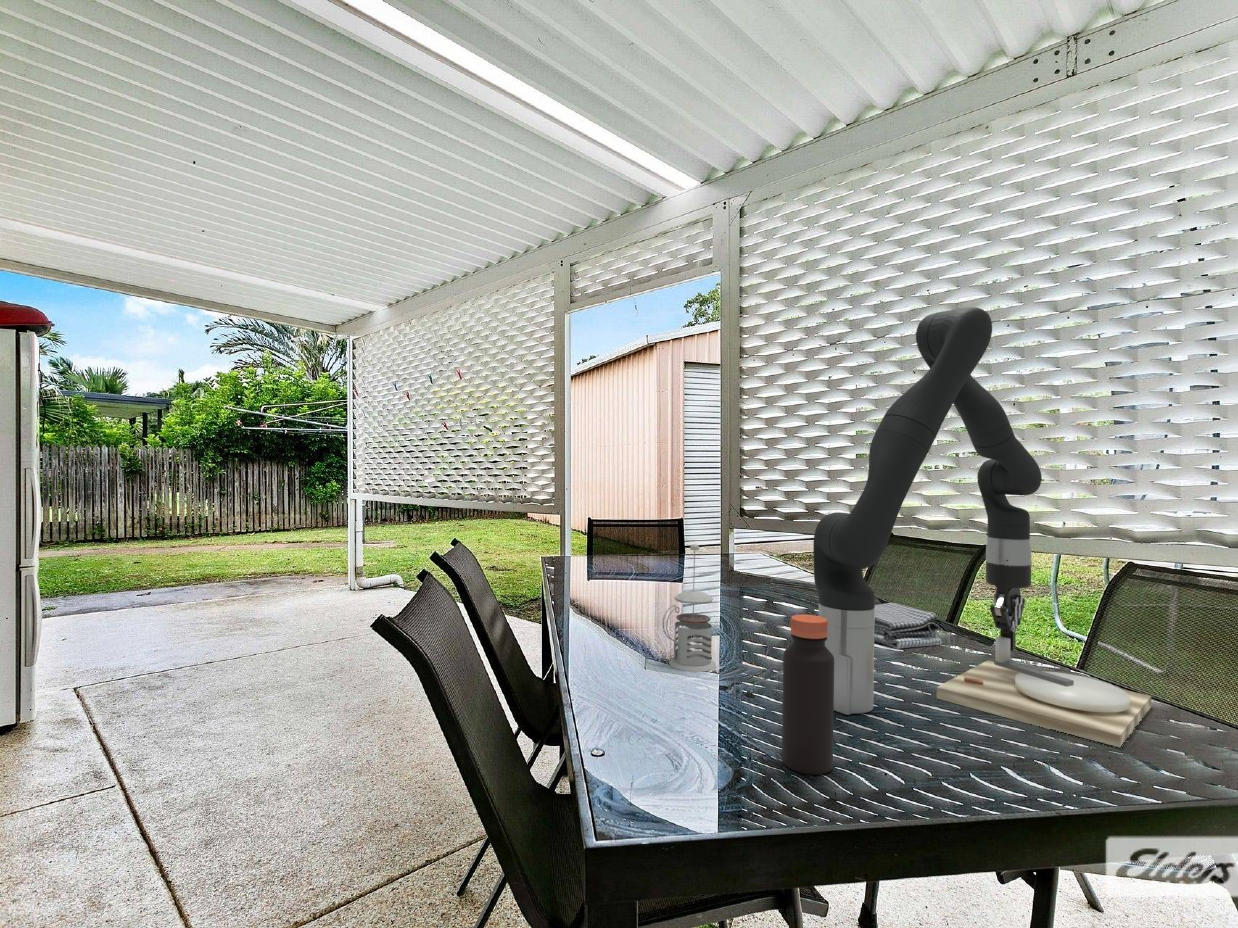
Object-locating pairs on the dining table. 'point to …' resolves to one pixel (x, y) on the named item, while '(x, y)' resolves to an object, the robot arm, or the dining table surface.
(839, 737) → the dining table surface
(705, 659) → the french press
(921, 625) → the towel
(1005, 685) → the cutting board
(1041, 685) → the dial
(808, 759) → the bottle
